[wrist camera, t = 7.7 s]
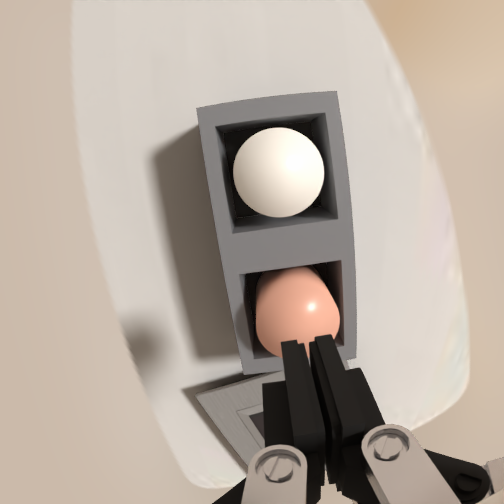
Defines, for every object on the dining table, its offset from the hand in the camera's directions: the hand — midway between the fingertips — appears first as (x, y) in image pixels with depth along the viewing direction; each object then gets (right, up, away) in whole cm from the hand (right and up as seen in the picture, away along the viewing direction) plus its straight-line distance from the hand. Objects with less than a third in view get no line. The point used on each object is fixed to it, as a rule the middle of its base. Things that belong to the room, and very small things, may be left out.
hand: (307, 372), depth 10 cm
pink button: (0, +2, +9) cm, 9 cm away
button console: (0, +5, +9) cm, 10 cm away
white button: (-1, +9, +7) cm, 11 cm away
